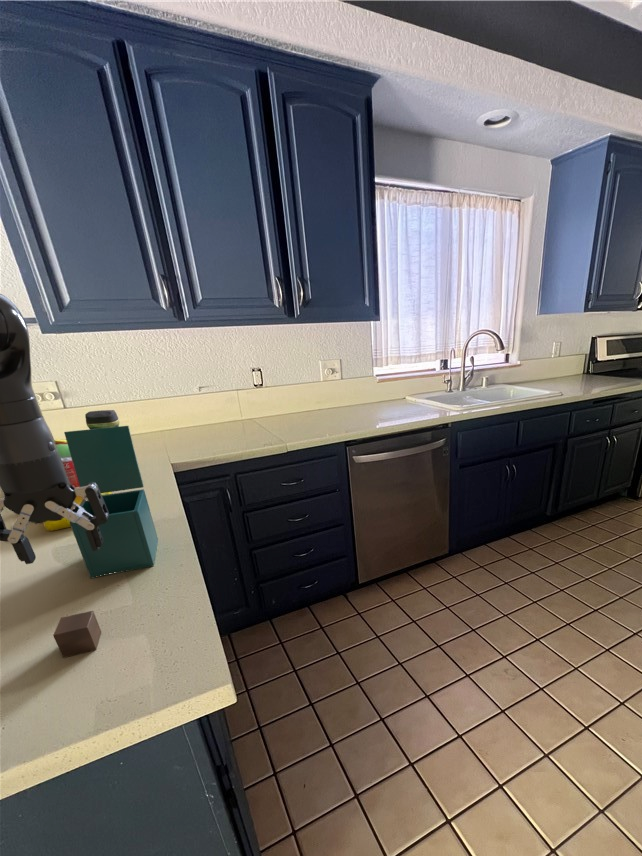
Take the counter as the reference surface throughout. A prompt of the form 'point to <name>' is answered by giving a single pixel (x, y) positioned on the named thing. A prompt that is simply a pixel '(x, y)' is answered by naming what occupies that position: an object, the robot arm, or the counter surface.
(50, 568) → the counter surface
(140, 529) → the canister
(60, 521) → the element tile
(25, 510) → the robot arm
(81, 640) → the block
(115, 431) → the canister lid
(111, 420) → the coffee jar
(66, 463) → the soda can
